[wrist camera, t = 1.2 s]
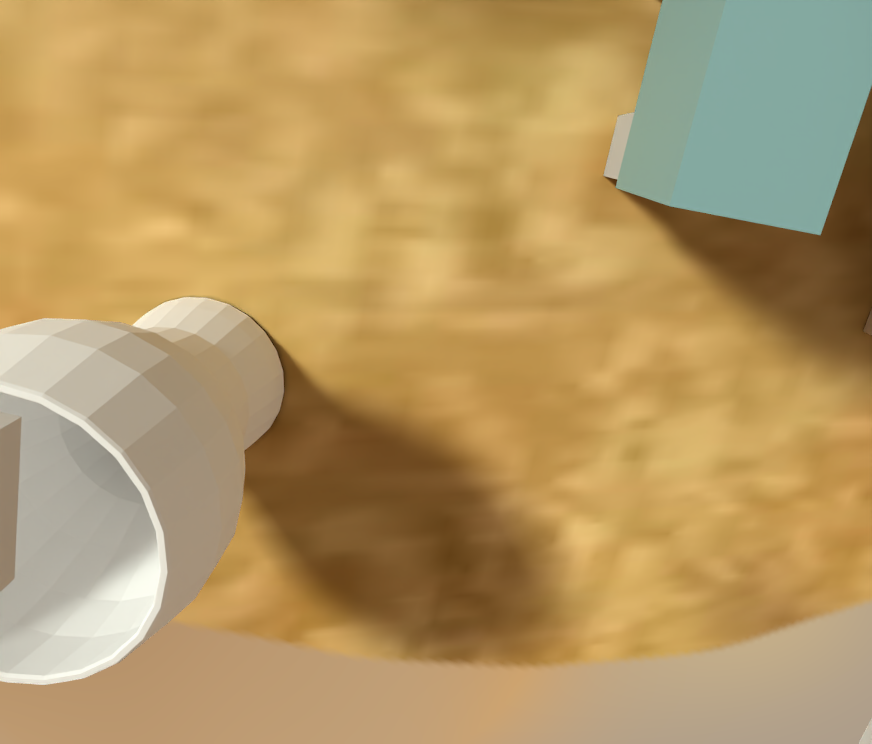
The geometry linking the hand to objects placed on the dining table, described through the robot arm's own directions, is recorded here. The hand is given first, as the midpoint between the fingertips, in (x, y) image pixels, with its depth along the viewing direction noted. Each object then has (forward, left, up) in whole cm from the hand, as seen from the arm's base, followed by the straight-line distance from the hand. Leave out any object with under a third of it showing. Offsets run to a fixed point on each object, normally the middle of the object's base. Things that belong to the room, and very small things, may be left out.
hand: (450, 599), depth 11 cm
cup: (+6, -12, -23) cm, 27 cm away
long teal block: (-11, +6, -23) cm, 26 cm away
